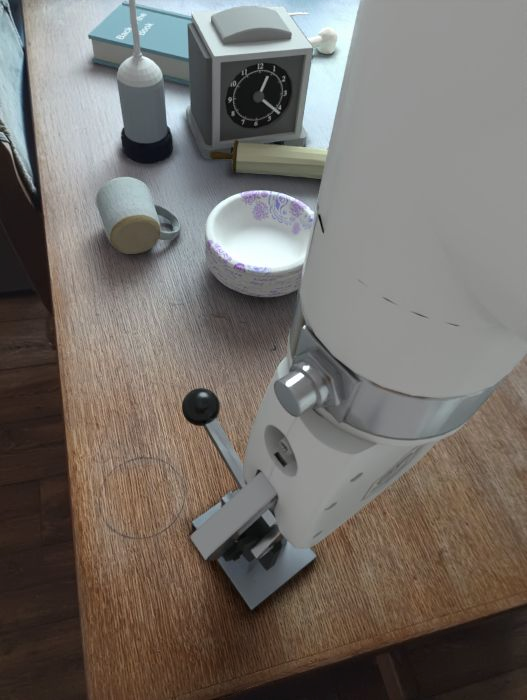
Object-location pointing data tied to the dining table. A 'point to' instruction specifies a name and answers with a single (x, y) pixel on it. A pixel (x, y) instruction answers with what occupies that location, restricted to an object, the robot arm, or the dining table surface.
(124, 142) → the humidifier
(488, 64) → the robot arm
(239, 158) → the rolling pin
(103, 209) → the ceramic mug
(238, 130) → the alarm clock
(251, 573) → the tap bracket
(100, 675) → the dining table surface
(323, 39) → the faucet
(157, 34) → the book
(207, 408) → the tap lever
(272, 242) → the paper bowls
